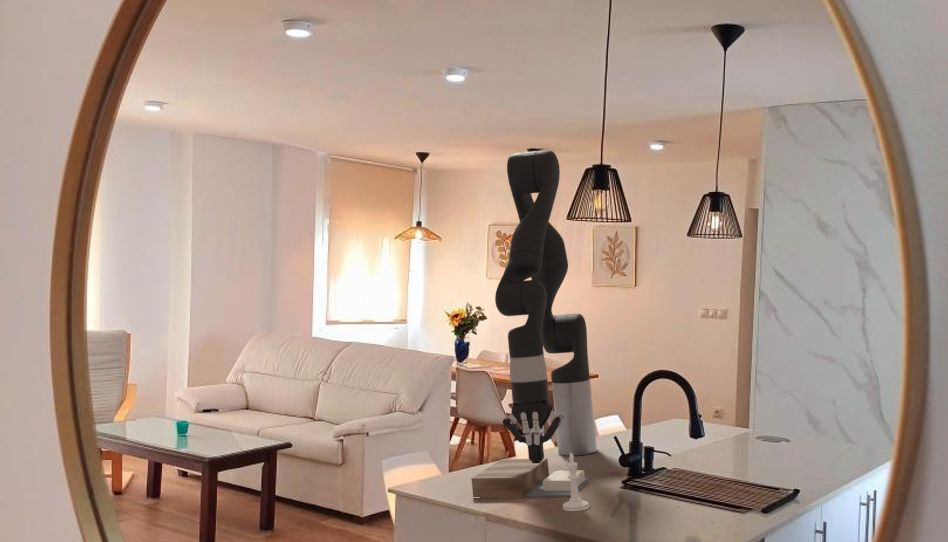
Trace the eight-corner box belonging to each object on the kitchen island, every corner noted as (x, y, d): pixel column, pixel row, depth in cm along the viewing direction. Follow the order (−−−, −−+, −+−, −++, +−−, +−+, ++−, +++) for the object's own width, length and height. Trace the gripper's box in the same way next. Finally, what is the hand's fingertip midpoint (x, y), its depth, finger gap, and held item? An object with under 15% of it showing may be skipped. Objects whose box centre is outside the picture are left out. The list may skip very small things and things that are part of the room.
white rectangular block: (583, 470, 185) (584, 480, 184) (555, 470, 187) (556, 480, 187) (571, 480, 176) (572, 490, 176) (542, 480, 178) (543, 490, 178)
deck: (503, 477, 196) (501, 459, 196) (549, 477, 192) (547, 458, 192) (473, 498, 179) (471, 478, 179) (523, 498, 176) (521, 477, 176)
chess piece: (559, 511, 163) (554, 456, 163) (567, 504, 168) (562, 450, 168) (585, 511, 161) (580, 455, 161) (593, 504, 166) (587, 450, 166)
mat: (545, 480, 190) (545, 478, 190) (589, 479, 186) (589, 477, 186) (524, 496, 176) (524, 494, 176) (571, 496, 173) (571, 494, 173)
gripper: (564, 374, 185) (573, 458, 185) (504, 377, 190) (512, 459, 190) (554, 378, 178) (563, 466, 178) (492, 382, 183) (500, 467, 183)
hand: (536, 462), depth 184 cm, fingers closed
